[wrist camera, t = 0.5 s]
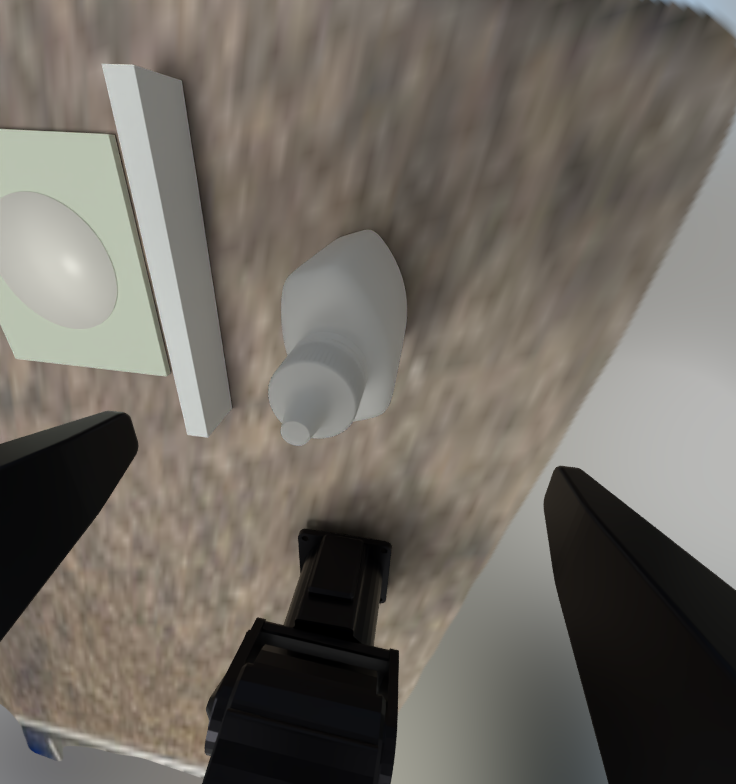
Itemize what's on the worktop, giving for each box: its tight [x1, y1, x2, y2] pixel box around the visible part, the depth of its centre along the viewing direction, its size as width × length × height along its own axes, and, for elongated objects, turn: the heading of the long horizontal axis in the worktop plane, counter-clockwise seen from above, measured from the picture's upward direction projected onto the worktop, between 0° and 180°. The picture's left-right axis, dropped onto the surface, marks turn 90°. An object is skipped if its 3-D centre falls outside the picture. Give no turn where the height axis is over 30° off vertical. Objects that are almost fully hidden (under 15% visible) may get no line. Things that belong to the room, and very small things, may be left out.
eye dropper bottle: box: [268, 230, 407, 446], centre depth 14 cm, size 4×6×12 cm
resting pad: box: [0, 129, 171, 376], centre depth 21 cm, size 12×10×1 cm
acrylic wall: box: [102, 64, 232, 437], centre depth 19 cm, size 16×1×3 cm, turn 177°
